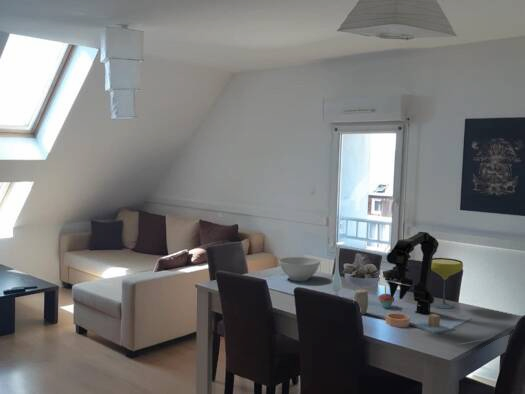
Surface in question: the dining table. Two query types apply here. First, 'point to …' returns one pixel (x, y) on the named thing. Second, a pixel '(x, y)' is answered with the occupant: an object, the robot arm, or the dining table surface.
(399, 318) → the bowl
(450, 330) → the mat
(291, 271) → the decorative bowl
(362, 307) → the carving
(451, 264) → the cocktail glass
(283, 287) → the dining table surface
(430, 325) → the cover
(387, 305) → the cupcake
